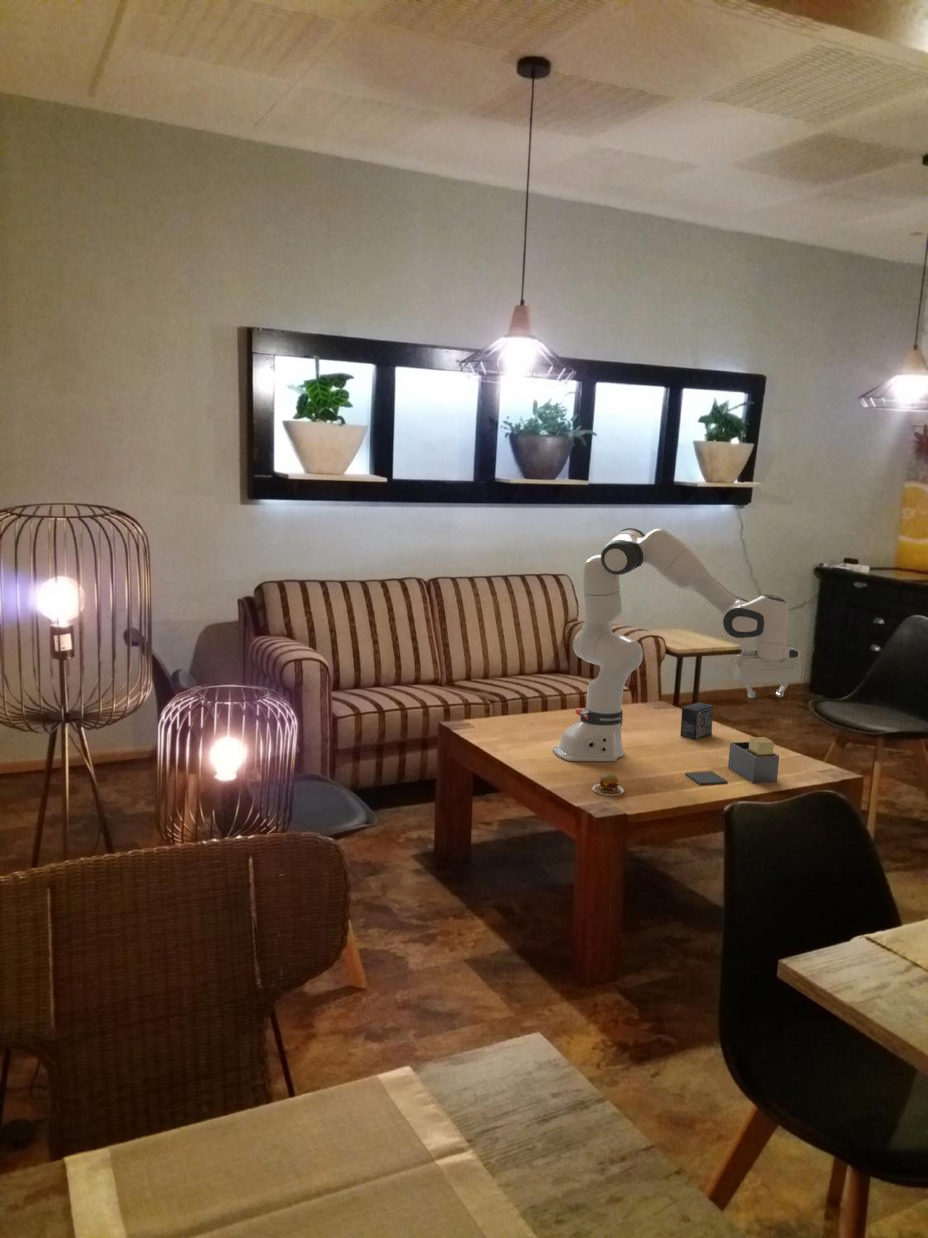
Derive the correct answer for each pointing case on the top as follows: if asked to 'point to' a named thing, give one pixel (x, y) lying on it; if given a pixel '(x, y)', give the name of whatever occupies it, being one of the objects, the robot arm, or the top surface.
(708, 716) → the small box
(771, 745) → the cream tapered block
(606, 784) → the hamburger
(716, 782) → the mat
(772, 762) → the divided storage bin
